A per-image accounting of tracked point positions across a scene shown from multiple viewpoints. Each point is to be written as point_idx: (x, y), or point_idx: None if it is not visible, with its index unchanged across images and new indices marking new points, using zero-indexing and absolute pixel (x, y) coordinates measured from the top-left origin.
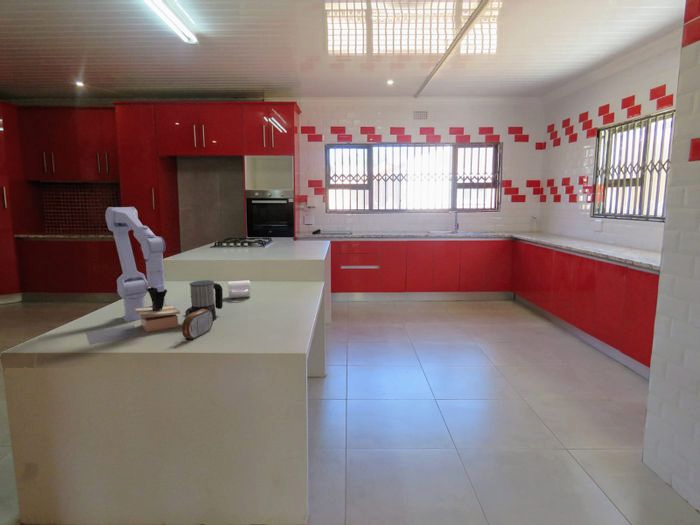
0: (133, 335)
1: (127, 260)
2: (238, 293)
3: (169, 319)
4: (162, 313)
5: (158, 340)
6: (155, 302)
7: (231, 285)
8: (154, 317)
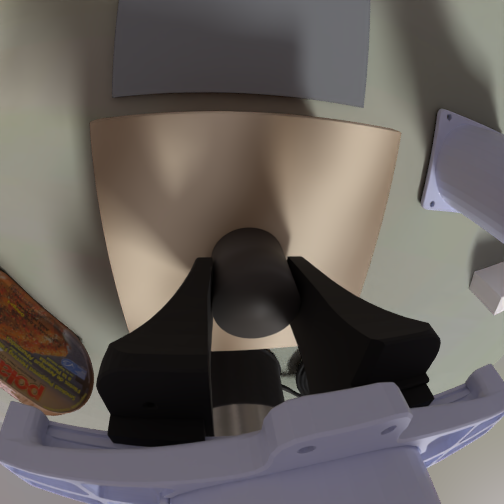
0: (132, 60)
1: None
2: None
3: None
4: (114, 269)
5: (18, 170)
6: (179, 292)
7: None
8: None
